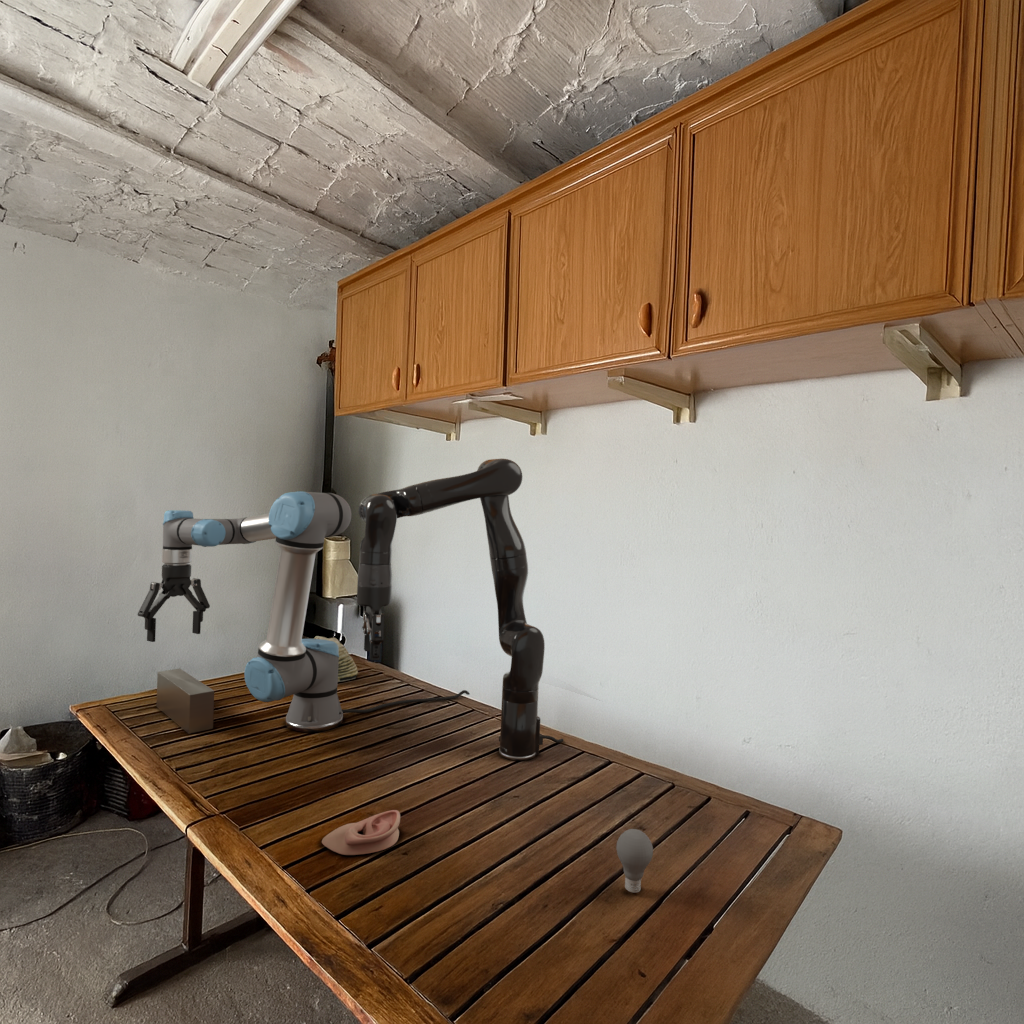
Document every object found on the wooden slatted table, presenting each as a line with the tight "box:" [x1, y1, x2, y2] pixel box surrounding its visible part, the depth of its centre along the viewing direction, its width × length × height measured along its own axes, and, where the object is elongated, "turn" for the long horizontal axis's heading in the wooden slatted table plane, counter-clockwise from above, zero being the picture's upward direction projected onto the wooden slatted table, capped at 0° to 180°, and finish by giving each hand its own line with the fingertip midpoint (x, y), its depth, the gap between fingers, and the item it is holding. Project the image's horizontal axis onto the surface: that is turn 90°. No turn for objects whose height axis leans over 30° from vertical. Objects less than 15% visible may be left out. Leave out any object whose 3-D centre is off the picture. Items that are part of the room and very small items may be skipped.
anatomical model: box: [321, 809, 401, 856], centre depth 118 cm, size 13×4×12 cm
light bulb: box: [615, 828, 654, 894], centre depth 106 cm, size 6×6×10 cm
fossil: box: [313, 635, 359, 683], centre depth 217 cm, size 9×18×15 cm, turn 132°
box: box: [156, 668, 215, 735], centre depth 176 cm, size 27×6×10 cm, turn 45°
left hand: (174, 637), depth 183 cm, fingers open, 13 cm apart
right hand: (371, 655), depth 142 cm, fingers open, 8 cm apart
